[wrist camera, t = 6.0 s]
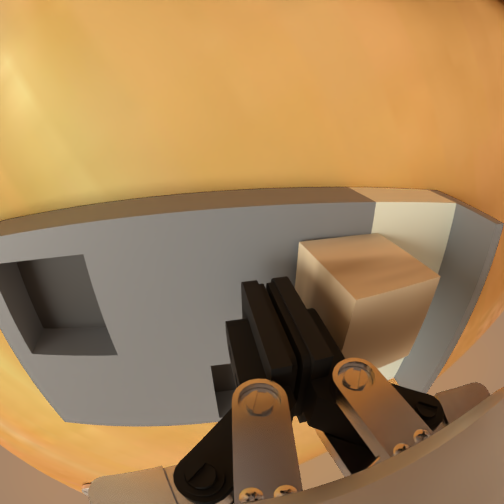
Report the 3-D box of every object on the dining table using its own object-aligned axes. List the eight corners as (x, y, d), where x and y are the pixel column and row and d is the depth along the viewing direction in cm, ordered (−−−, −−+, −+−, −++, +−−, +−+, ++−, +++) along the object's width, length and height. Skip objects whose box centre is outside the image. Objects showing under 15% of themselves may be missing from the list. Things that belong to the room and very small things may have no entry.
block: (361, 304, 14) (408, 355, 10) (291, 321, 13) (330, 386, 9) (378, 232, 12) (440, 276, 8) (298, 241, 11) (355, 299, 8)
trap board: (388, 354, 21) (421, 399, 16) (70, 396, 16) (59, 455, 11) (437, 190, 15) (503, 223, 10) (-11, 223, 10) (-70, 275, 5)
